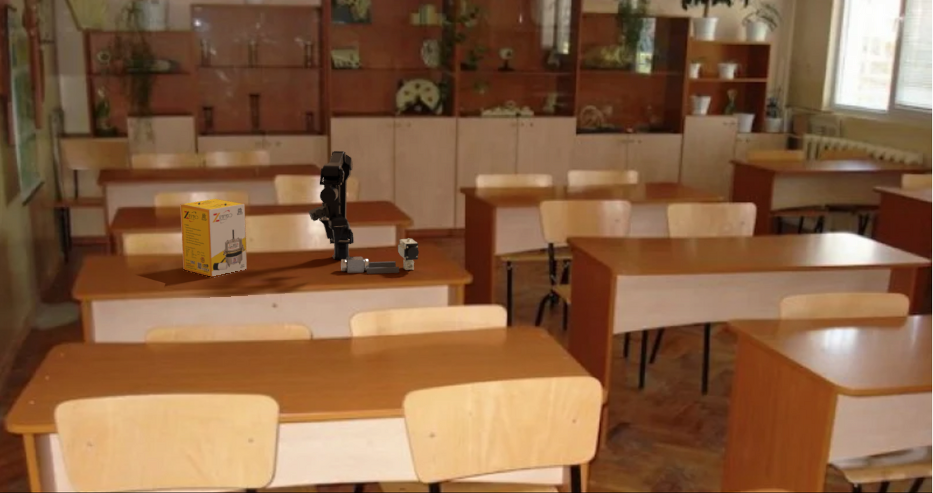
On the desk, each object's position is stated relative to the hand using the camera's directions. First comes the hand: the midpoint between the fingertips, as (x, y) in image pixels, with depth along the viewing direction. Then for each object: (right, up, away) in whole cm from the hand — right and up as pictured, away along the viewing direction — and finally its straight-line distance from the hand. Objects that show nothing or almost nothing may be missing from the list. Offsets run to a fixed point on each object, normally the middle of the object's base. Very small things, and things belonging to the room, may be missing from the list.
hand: (332, 241), depth 331 cm
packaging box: (-44, -11, +3) cm, 46 cm away
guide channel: (+17, -11, +9) cm, 22 cm away
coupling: (+8, -11, +6) cm, 15 cm away
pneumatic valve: (+27, -11, +11) cm, 31 cm away
